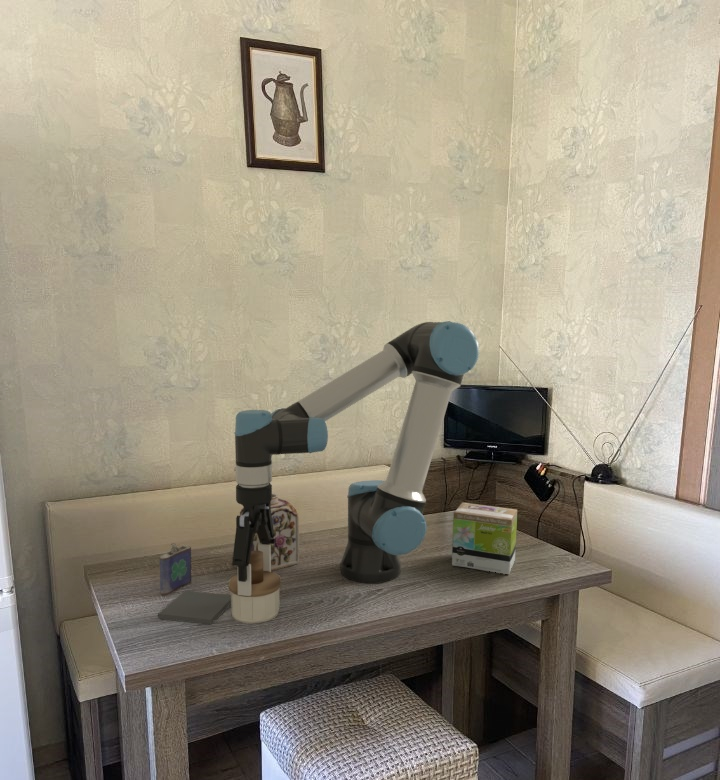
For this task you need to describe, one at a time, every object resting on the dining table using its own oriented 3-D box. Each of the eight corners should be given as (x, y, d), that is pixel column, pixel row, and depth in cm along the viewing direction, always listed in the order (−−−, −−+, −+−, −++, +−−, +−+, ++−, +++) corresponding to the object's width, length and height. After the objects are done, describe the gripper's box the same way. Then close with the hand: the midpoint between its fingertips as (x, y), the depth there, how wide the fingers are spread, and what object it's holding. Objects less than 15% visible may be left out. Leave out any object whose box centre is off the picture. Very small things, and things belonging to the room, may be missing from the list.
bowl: (284, 604, 139) (284, 578, 138) (269, 625, 129) (269, 597, 129) (242, 600, 141) (242, 574, 140) (224, 620, 131) (223, 593, 131)
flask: (165, 596, 143) (164, 551, 142) (156, 594, 144) (155, 548, 143) (194, 582, 151) (193, 539, 150) (185, 580, 152) (184, 537, 151)
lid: (287, 578, 139) (287, 546, 138) (270, 599, 128) (270, 565, 127) (241, 573, 141) (240, 542, 140) (220, 594, 130) (219, 560, 130)
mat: (234, 599, 142) (234, 595, 141) (211, 624, 130) (211, 619, 130) (185, 594, 144) (185, 590, 144) (158, 618, 132) (158, 613, 132)
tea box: (451, 567, 162) (452, 511, 160) (459, 554, 171) (461, 501, 169) (510, 576, 156) (512, 518, 154) (516, 562, 165) (517, 507, 164)
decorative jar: (260, 575, 156) (259, 504, 154) (238, 561, 165) (237, 494, 163) (300, 564, 163) (300, 496, 161) (277, 551, 172) (277, 487, 170)
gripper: (257, 470, 144) (258, 562, 147) (213, 497, 122) (215, 605, 124) (288, 471, 143) (288, 564, 145) (249, 499, 120) (251, 609, 122)
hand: (255, 583), depth 135 cm, fingers closed on lid, 11 cm apart
